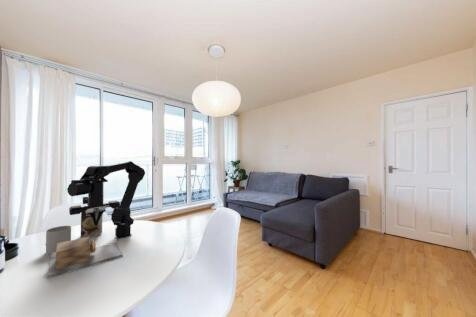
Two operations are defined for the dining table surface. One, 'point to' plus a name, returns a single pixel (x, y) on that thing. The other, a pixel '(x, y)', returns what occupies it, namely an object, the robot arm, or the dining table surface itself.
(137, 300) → the dining table surface
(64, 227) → the cup
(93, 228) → the coffee box
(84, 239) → the wooden block on base
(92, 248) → the shaft
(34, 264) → the dining table surface
